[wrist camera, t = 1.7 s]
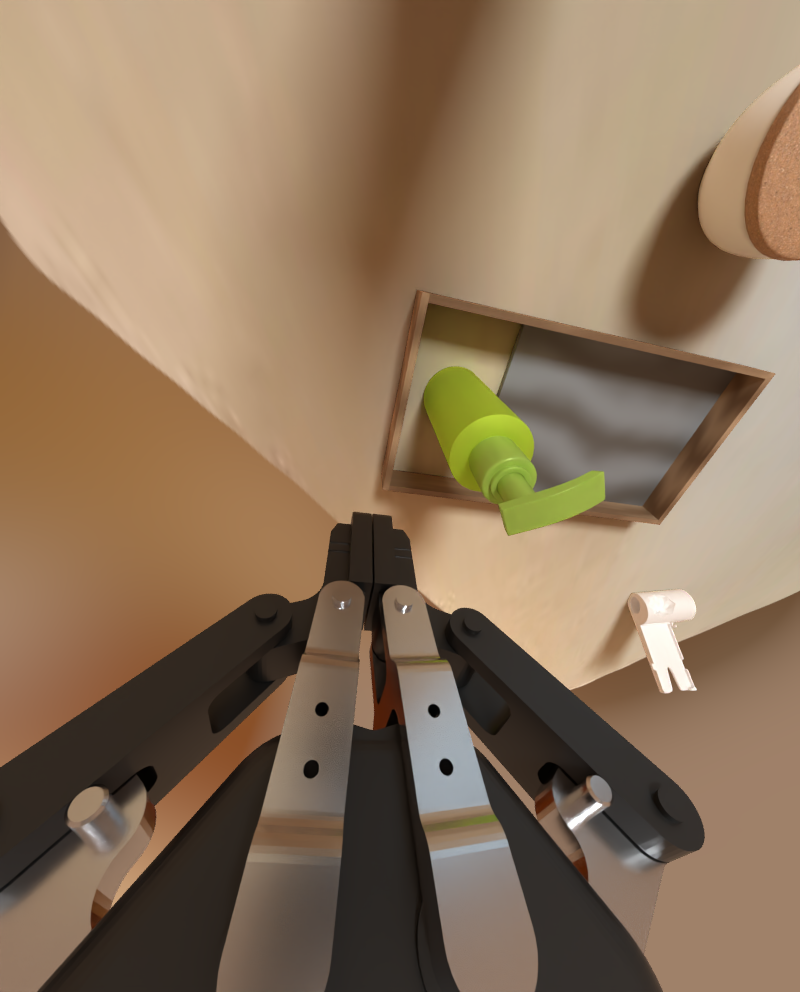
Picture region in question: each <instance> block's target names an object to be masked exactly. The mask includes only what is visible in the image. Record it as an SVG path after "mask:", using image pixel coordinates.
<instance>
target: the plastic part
mask: <svg viewBox="0 0 800 992" xmlns="http://www.w3.org/2000/svg"><path fill="white" fill-rule="evenodd" d="M627 602H628V607H629V610H630V613H631V615H632V618H633V620H634V623H635V626H636V629H637V631H638V634H639V637H640V639H641V642H642V645H643V647H644V650H645V653H646V656H647V658H648V661H649V663H650V666H651V669H652V672H653V674H654V677H655V680H656V683H657V685H658V688H659V691H660V692H661V693H670V692H671V691H672V686H671V682H670V678H669V675H668V670H667V668H669V669H670V671H671V673H672V675H673V677H674V679H675V681H676V683H677V685H678V687H679V689H680V690H692V691H693V690H696V688H695V686H694V684H693V681H692V679H691V676H690V674H689V671H688V669H685V668H684V665H683V663H682V660H681V659H684V658H683V656H682V653H681V651H680V648H679V646H678V643H677V640H676V638H675V635H674V633H673V630H672V627H675V628H677V625H675V626H673V622H681V621H687V620H691V619H692V618H693V617H694V616H695V613H696V605H695V602H694V600H693V599H692V597H691V596H690V595H689V594H688V593H687V592H686V591H684V590H682V589H674V590H662V591H650V592H638V593H631V595H630V597H629V599H628V601H627Z"/></svg>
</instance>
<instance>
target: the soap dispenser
mask: <svg viewBox="0 0 800 992" xmlns="http://www.w3.org/2000/svg"><path fill="white" fill-rule="evenodd" d="M424 406H425V409H426V412H427V414H428V417H429V419H430V422H431V424H432V426H433V429H434V431H435V434H436V436H437V439H438V441H439V443H440V446H441V448H442V451H443V453H444V456H445V458H446V461H447V463H448V465H449V468H450V470H451V473H452V475H453V476H454V478H455V479H456V480H457V482H458V483H460V484H461V485H462V486H464V487H466V488H468V489H470V490H473V491H479V492H482V493H483V495H484V497H485V498H486V499H487V500H488V501H490V502H492V503H494V504H498V505H499V509H500V513H501V517H502V520H503V524H504V528H505V530H506V532H507V534H508V536H509V535H514V534H517V533H521V532H525V531H529V530H533V529H537V528H540V527H544V526H547V525H551V524H554V523H557V522H560V521H563V520H565V519H568V518H571V517H573V516H575V515H578V514H580V513H582V512H584V511H586V510H588V509H590V508H592V507H594V506H595V505H597V504H599V503H600V502H602V501H604V500H605V478H604V472H603V471H594V470H592V471H590V472H588V473H586V474H584V475H582V476H580V477H578V478H575V479H573V480H571V481H568V482H566V483H563V484H561V485H558V486H555V487H552V488H549V489H545V490H542V491H539V492H536V493H535V491H534V490H533V487H534V486H535V483H536V479H537V473H536V469H535V467H534V465H533V464H532V462H531V459H532V457H533V452H534V439H533V436H532V433H531V431H530V429H529V428H528V426H527V425H526V424H525V423H524V422H523V421H522V420H521V419H520V418H519V417H518V416H517V415H516V414H515V413H514V412H513V411H512V410H511V409H510V408H509V407H507V406H506V405H505V404H504V403H503V402H502V401H501V400H500V399H499V398H498V397H497V396H496V395H495V394H494V393H493V392H492V391H491V390H490V389H489V388H488V387H487V386H486V385H485V384H484V383H483V382H482V381H481V380H480V379H479V378H478V377H477V376H476V375H475V374H474V373H473V372H471V371H470V370H468V369H466V368H463V367H448V368H445V369H443V370H441V371H439V372H438V373H436V374H435V375H434V376H433V377H432V378H431V379H430V381H429V382H428V384H427V386H426V388H425V391H424Z"/></svg>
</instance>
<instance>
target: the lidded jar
mask: <svg viewBox="0 0 800 992" xmlns="http://www.w3.org/2000/svg"><path fill="white" fill-rule="evenodd" d="M698 216H699V221H700V225H701V227H702V230H703V232H704V234H705V235H706V237H707V238H708V239H709V241H710V242H712V243H713V244H714V245H715V246H716V247H718V248H719V249H721V250H723V251H725V252H727V253H730V254H733V255H736V256H741V257H747V258H754V259H777V260H783V261H791V260H800V65H798V66H797V67H795V68H794V69H792V70H791V71H789V72H788V73H787V74H785V75H784V76H783V77H781V78H780V79H779V80H777V81H776V82H775V83H774V84H773V85H771V86H770V87H769V88H768V89H766V90H765V91H764V92H763V93H762V94H761V95H760V96H759V97H758V98H757V99H756V100H755V101H754V102H753V103H752V104H751V105H750V106H749V107H748V108H747V109H746V110H745V111H744V112H743V113H742V114H741V115H740V116H739V118H738V119H737V120H736V121H735V122H734V124H733V125H732V126H731V127H730V129H729V130H728V132H727V133H726V134H725V136H724V137H723V139H722V140H721V142H720V143H719V145H718V147H717V148H716V150H715V152H714V154H713V155H712V157H711V160H710V162H709V164H708V166H707V168H706V170H705V173H704V175H703V178H702V180H701V183H700V187H699V192H698Z"/></svg>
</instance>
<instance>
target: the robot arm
mask: <svg viewBox="0 0 800 992" xmlns="http://www.w3.org/2000/svg"><path fill="white" fill-rule="evenodd" d="M363 625H364V630H370V631H372V642H371V646H370V651H369V653H370V666H371V679H372V691H373V703H374V721H373V730H369V729H366V728H363V727H359V726H356V725H353V723H354V712H355V704H356V693H357V684H358V674H359V648H360V639H361V630H362V629H363ZM294 674H297V675H296V679H295V683H294V687H293V691H292V695H291V699H290V703H289V706H288V710H287V714H286V718H285V722H284V726H283V730H282V733H281V735H279V736H276V737H274V738H272V739H271V740H269V741H267V742H265V743H264V744H262V745H261V746H260V747H258V748H257V749H256V750H254V751H253V752H252V753H251V754H250V755H249V756H247V757H246V758H245V759H244V760H243V761H242V762H241V763H240V764H239V765H238V767H237V768H236V769H235V770H234V771H233V772H232V773H231V774H230V775H229V777H228V778H227V779H226V780H225V781H224V782H223V783H222V784H221V786H220V787H219V788H218V789H217V790H216V791H215V792H214V793H213V795H212V796H211V797H210V798H209V799H208V800H207V801H206V803H204V805H203V806H202V807H201V808H200V809H199V810H198V811H197V813H196V814H195V815H194V816H193V817H192V818H191V819H190V821H188V823H187V824H186V825H185V826H184V827H183V828H182V829H181V830H180V832H179V833H178V834H177V835H176V836H175V837H174V839H172V841H171V842H170V843H169V844H168V845H167V846H166V847H165V848H164V850H163V851H162V852H161V853H160V854H159V855H158V856H157V857H156V859H155V860H154V861H153V862H152V863H151V864H150V865H149V866H148V868H147V869H146V870H145V871H144V872H143V873H142V874H141V875H140V876H139V878H138V879H137V880H136V881H135V882H134V883H133V884H132V885H131V887H130V888H129V889H128V890H127V891H126V892H125V893H124V894H123V896H122V897H121V898H120V899H119V900H118V901H117V902H116V903H115V904H114V906H113V907H112V908H111V905H112V902H113V899H114V897H115V894H116V892H117V890H118V888H119V886H120V884H121V882H122V880H123V879H124V877H125V876H126V875H127V873H128V872H129V870H130V869H131V868H132V867H133V865H134V864H135V863H136V862H137V860H138V859H139V858H140V857H141V855H142V854H143V852H144V851H145V849H146V848H147V846H148V844H149V842H150V840H151V837H152V835H153V832H154V829H155V825H156V809H155V805H156V804H157V803H158V802H159V801H160V800H161V799H162V798H163V797H165V795H166V794H168V792H170V791H171V790H172V789H173V788H174V787H175V786H176V785H177V784H178V783H179V782H180V781H181V780H182V779H183V778H184V777H185V776H186V775H187V774H188V773H189V772H190V771H192V770H193V769H194V767H196V766H197V765H198V764H199V763H200V762H201V761H202V760H203V759H204V758H205V757H206V756H207V755H208V754H209V753H210V752H211V751H212V750H213V749H214V748H215V747H216V746H217V745H219V743H221V742H222V741H223V740H224V739H225V738H226V737H227V736H228V735H229V734H230V733H231V732H232V731H233V730H234V729H235V728H236V727H237V726H238V725H239V724H240V723H241V722H242V721H243V720H244V719H245V718H247V717H248V716H249V715H250V714H251V713H252V712H253V711H254V710H255V709H256V708H257V707H258V706H259V705H260V704H261V703H262V702H263V701H264V700H265V699H266V698H267V697H268V696H269V695H270V694H271V693H272V692H274V691H275V689H277V688H278V687H279V685H281V684H282V683H283V682H284V681H285V679H286V678H287V676H290V675H294ZM468 726H469V727H470V729H471V730H472V731H473V732H474V733H475V734H476V735H477V736H478V738H479V739H480V740H481V741H482V742H483V743H484V744H485V746H487V748H488V749H489V750H490V751H491V752H492V754H494V756H495V757H496V758H497V759H498V760H499V761H500V763H501V764H502V765H503V766H504V767H505V768H506V769H507V771H508V772H509V773H510V774H511V775H512V776H513V777H514V778H515V780H516V781H517V782H518V783H519V784H520V785H521V786H522V788H523V789H524V790H525V791H526V792H527V793H528V794H529V796H530V797H531V798H532V799H533V800H534V801H535V811H536V816H537V819H538V820H537V819H536V818H535V817H534V816H533V814H532V813H531V812H530V811H529V810H528V808H527V807H526V806H525V805H524V803H523V802H522V801H521V800H520V799H519V797H518V796H517V795H516V794H515V792H514V791H513V790H512V789H511V788H510V786H509V785H508V784H507V783H506V782H505V780H504V779H503V778H502V776H501V775H500V774H499V773H498V772H497V771H496V769H495V768H494V767H493V766H492V764H491V763H490V762H489V761H488V760H487V759H486V757H485V756H484V755H483V754H482V753H481V752H480V751H479V750H478V749H476V748H475V747H474V746H473V743H472V739H471V736H470V732H469V729H468ZM704 838H705V837H704V828H703V824H702V821H701V818H700V816H699V814H698V812H697V810H696V808H695V806H694V805H693V803H692V802H691V800H690V799H689V797H688V796H687V795H686V794H685V793H684V791H683V790H682V789H681V788H680V787H679V786H678V785H677V784H676V783H675V782H674V781H673V780H672V779H670V778H669V777H668V776H667V775H666V774H665V773H664V772H662V771H661V770H660V769H659V768H658V767H657V766H656V765H654V764H653V763H652V762H651V761H650V760H649V759H647V758H646V757H645V756H644V755H643V754H642V753H641V752H640V751H638V750H637V749H636V748H635V747H634V746H633V745H632V744H630V743H629V742H628V741H627V740H626V739H625V738H624V737H622V736H621V735H620V734H619V733H618V732H617V731H616V730H614V729H613V728H612V727H611V726H610V725H609V724H608V723H606V722H605V721H604V720H603V719H602V718H601V717H600V716H598V715H597V714H596V713H595V712H594V711H593V710H592V709H590V708H589V707H588V706H587V705H586V704H585V703H584V702H582V701H581V700H580V699H579V698H578V697H577V696H576V695H574V694H573V693H572V692H571V691H570V690H569V689H568V688H566V687H565V686H564V685H563V684H562V683H561V682H560V681H558V680H557V679H556V678H555V677H554V676H553V675H552V674H550V673H549V672H548V671H547V670H546V669H545V668H544V667H542V666H541V665H540V664H539V663H538V662H537V661H536V660H534V659H533V658H532V657H531V656H530V655H529V654H528V653H526V652H525V651H524V650H523V649H522V648H521V647H520V646H518V645H517V644H516V643H515V642H514V641H513V640H512V639H510V638H509V637H508V636H507V635H506V634H505V633H504V632H502V631H501V630H500V629H499V628H498V627H497V626H496V625H494V624H493V623H492V622H491V621H490V620H489V619H488V618H486V617H485V616H484V615H483V614H481V613H480V612H478V611H476V610H474V609H470V608H460V609H457V610H455V611H454V612H453V613H452V615H451V614H448V613H445V612H442V611H440V610H437V609H435V608H432V607H431V606H429V605H428V604H427V603H425V601H424V599H423V597H422V596H421V595H420V593H419V592H418V590H417V585H416V578H415V572H414V565H413V559H412V552H411V546H410V539H409V538H408V536H407V535H406V534H405V532H404V531H403V530H398V529H393V527H392V517H391V516H387V515H378V514H373V515H372V514H369V513H360V512H353V514H352V521H351V525H350V524H341V523H338V524H337V525H336V526H335V528H334V529H333V530H332V531H331V536H330V543H329V550H328V557H327V564H326V571H325V577H324V583H323V586H322V588H321V589H320V591H319V592H318V593H317V594H315V595H314V596H313V597H311V598H309V599H306V600H303V601H298V602H293V603H289V601H288V600H287V599H286V598H284V597H283V596H280V595H277V594H263V595H259V596H256V597H254V598H252V599H251V600H249V601H248V602H246V603H245V604H243V605H242V606H240V607H239V608H237V609H236V610H234V611H233V612H231V613H230V614H228V615H227V616H225V617H224V618H222V619H221V620H219V621H218V622H216V623H215V624H213V625H212V626H210V627H209V628H208V629H206V630H204V631H203V632H201V633H200V634H198V635H197V636H195V637H194V638H192V639H191V640H189V641H188V642H186V643H185V644H183V645H182V646H181V647H179V648H178V649H176V650H175V651H173V652H172V653H170V654H169V655H167V656H166V657H164V658H163V659H161V660H160V661H158V662H157V663H155V664H154V665H152V666H151V667H149V668H148V669H146V670H145V671H143V672H142V673H140V674H139V675H137V676H136V677H134V678H133V679H131V680H130V681H128V682H127V683H125V684H124V685H123V686H121V687H120V688H118V689H116V690H115V691H113V692H112V693H111V694H109V695H108V696H106V697H105V698H103V699H102V700H100V701H99V702H97V703H96V704H94V705H93V706H91V707H90V708H88V709H87V710H85V711H84V712H82V713H81V714H80V715H78V716H76V717H75V718H73V719H72V720H71V721H69V722H67V723H66V724H64V725H63V726H61V727H60V728H58V729H57V730H55V731H54V732H52V733H51V734H49V735H48V736H46V737H45V738H44V739H42V740H41V741H39V742H38V743H36V744H35V745H33V746H32V747H30V748H29V749H27V750H26V751H24V752H23V753H21V754H20V755H18V756H17V757H15V758H14V759H12V760H11V761H9V762H8V763H6V764H5V765H3V766H2V767H0V992H663V991H662V988H661V986H660V984H659V982H658V980H657V978H656V975H655V974H654V972H653V970H652V968H651V966H650V965H649V963H648V961H647V959H646V957H645V956H644V952H645V947H646V943H647V939H648V935H649V930H650V926H651V921H652V917H653V913H654V909H655V904H656V900H657V896H658V891H659V887H660V883H661V878H662V874H663V870H664V866H665V865H666V864H667V863H669V862H671V861H673V860H676V859H678V858H680V857H683V856H685V855H687V854H690V853H692V852H694V851H697V850H699V849H700V848H701V847H702V845H703V843H704ZM110 908H111V909H110Z"/></svg>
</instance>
